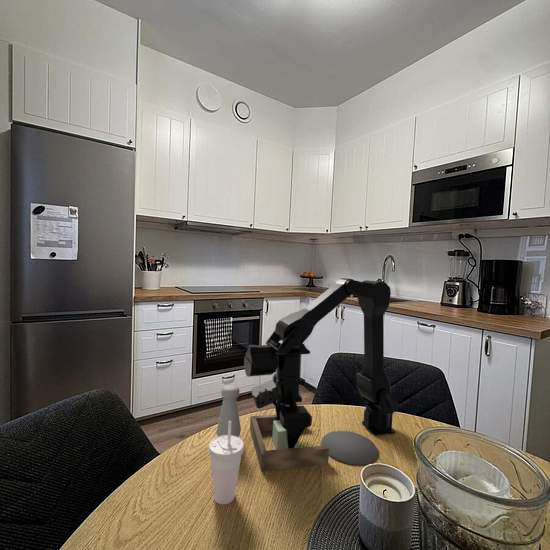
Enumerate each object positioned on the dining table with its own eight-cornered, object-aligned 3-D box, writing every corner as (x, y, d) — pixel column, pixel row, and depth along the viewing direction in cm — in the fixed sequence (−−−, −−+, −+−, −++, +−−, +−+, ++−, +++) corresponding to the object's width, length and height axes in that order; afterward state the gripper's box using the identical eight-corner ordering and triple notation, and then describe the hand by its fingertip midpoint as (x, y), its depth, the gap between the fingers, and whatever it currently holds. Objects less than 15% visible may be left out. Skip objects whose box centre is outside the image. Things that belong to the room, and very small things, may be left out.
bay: (304, 425, 83) (305, 412, 82) (328, 464, 67) (329, 448, 66) (249, 429, 79) (250, 416, 79) (260, 471, 63) (261, 454, 63)
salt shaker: (238, 448, 71) (240, 392, 71) (213, 446, 71) (216, 391, 71) (241, 434, 77) (243, 383, 76) (218, 433, 77) (221, 381, 77)
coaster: (360, 431, 81) (360, 429, 81) (389, 461, 68) (389, 459, 68) (313, 434, 78) (313, 432, 78) (334, 467, 65) (334, 465, 65)
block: (292, 439, 76) (293, 419, 76) (297, 451, 71) (299, 429, 71) (272, 440, 75) (273, 420, 75) (276, 453, 70) (277, 431, 70)
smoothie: (226, 516, 51) (229, 434, 51) (198, 499, 55) (201, 422, 55) (249, 493, 57) (252, 418, 57) (222, 479, 60) (225, 409, 60)
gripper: (249, 361, 80) (246, 420, 80) (261, 389, 62) (258, 466, 62) (290, 360, 82) (287, 417, 83) (314, 387, 64) (310, 461, 64)
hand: (285, 437), depth 73 cm, fingers open, 9 cm apart
